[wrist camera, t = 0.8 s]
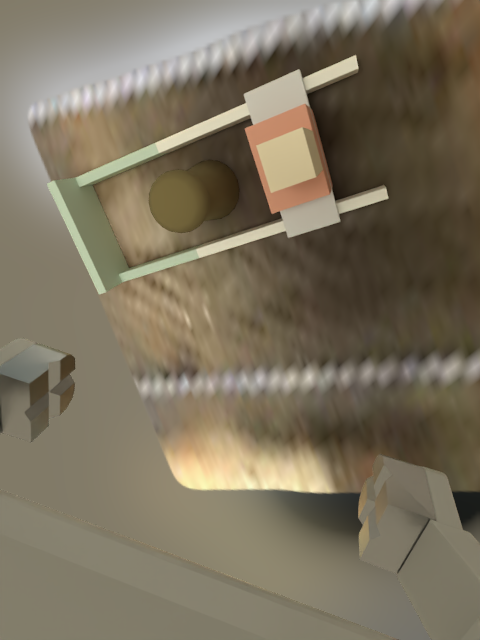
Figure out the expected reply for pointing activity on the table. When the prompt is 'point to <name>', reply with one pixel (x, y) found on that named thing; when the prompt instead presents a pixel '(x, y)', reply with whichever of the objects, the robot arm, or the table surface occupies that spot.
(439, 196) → the table surface
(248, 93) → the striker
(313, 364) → the table surface
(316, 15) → the table surface
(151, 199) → the olive rounded upright piece
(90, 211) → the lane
